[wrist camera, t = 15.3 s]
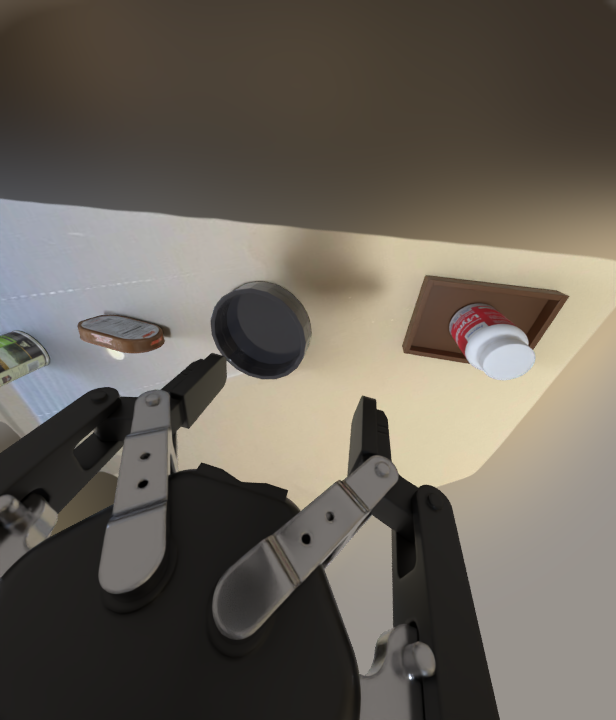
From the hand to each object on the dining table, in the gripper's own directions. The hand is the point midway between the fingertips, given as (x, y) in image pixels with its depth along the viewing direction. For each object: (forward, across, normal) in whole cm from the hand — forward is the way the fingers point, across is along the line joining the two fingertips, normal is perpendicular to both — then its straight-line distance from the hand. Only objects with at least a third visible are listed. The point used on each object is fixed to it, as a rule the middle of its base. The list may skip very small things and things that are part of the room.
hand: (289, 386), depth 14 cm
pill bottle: (+26, -20, +2) cm, 34 cm away
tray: (+27, -20, +2) cm, 34 cm away
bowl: (+27, +10, +12) cm, 31 cm away
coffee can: (+27, +72, +35) cm, 85 cm away
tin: (+27, +37, +18) cm, 50 cm away
